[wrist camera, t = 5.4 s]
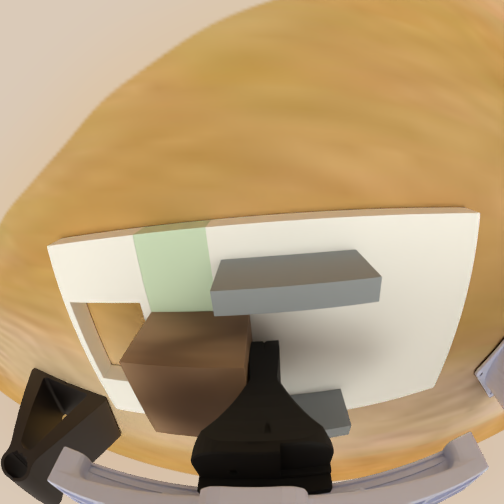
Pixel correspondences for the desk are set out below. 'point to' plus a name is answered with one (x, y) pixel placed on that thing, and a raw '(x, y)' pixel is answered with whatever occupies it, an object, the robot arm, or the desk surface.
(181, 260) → the pad
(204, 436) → the robot arm
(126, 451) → the desk surface
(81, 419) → the black open bin
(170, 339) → the block
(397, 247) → the board
